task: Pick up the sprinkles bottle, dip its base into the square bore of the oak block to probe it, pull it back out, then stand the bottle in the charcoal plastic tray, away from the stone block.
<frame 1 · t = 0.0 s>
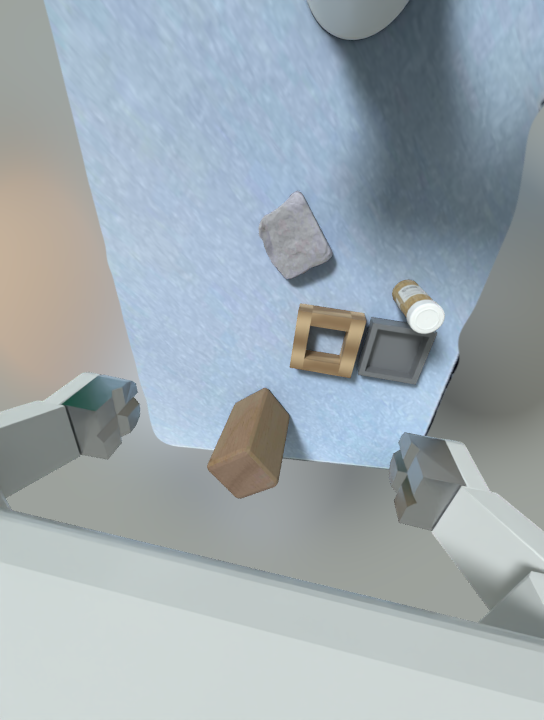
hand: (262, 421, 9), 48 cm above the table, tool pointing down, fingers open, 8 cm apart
stone block: (293, 239, 52), on the table
sprinkles bottle: (405, 291, 53), on the table
wooden block: (262, 408, 71), on the table
tray: (392, 347, 58), on the table
oak bore block: (325, 336, 59), on the table
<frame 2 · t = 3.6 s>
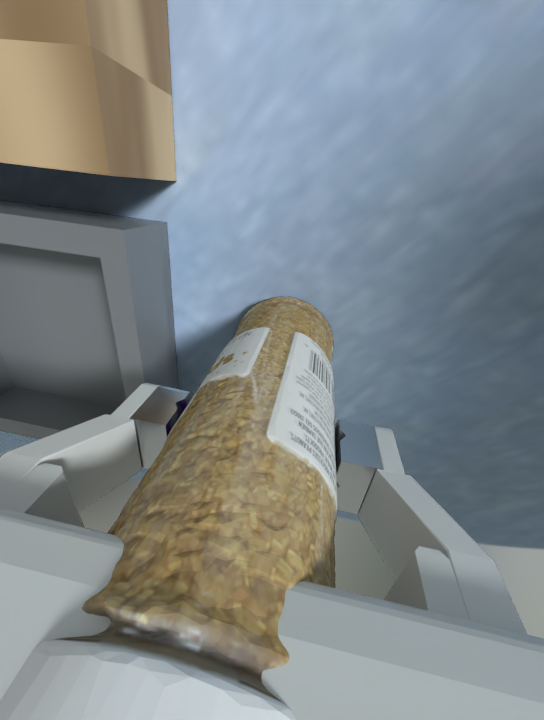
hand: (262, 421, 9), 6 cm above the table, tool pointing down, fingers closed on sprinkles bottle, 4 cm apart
sprinkles bottle: (286, 340, 14), on the table, touching gripper
tray: (74, 324, 15), on the table
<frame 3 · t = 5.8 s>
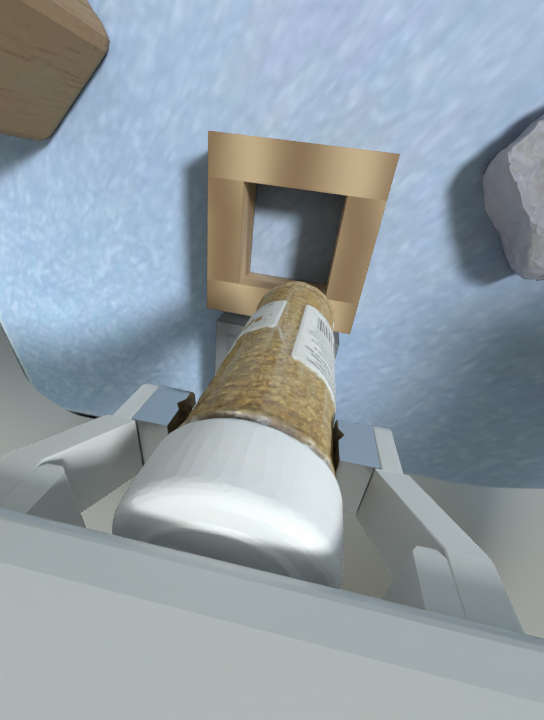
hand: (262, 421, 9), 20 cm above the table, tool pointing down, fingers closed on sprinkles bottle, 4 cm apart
sprinkles bottle: (296, 318, 17), point 10 cm above the table, touching gripper
wooden block: (32, 31, 22), on the table
tray: (274, 367, 31), on the table
oak bore block: (293, 236, 25), on the table
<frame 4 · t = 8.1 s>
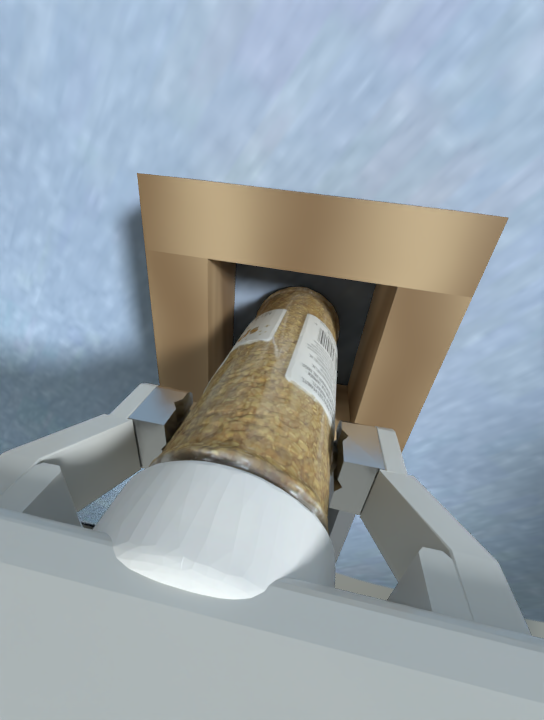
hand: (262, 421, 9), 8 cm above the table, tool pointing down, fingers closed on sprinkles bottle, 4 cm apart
sprinkles bottle: (298, 325, 16), resting in oak bore block, touching gripper
tray: (272, 479, 23), on the table
oak bore block: (296, 320, 16), on the table
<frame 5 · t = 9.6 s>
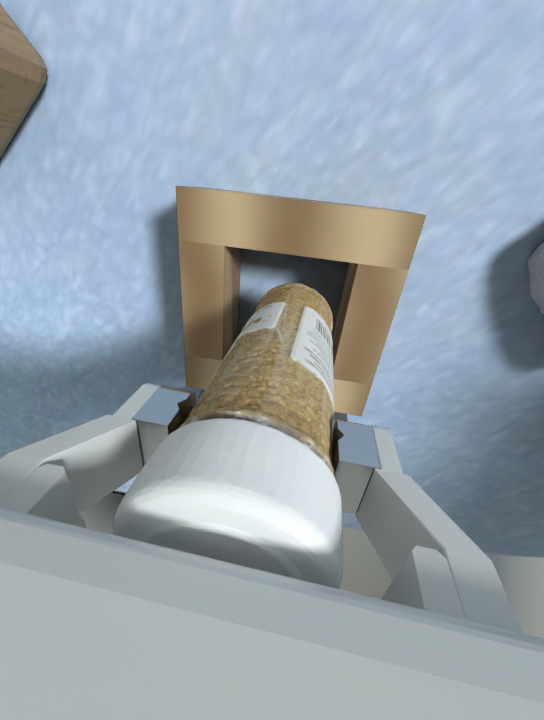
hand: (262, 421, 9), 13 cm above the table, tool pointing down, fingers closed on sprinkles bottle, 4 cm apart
sprinkles bottle: (294, 320, 17), point 4 cm above the table, touching gripper
oak bore block: (288, 297, 21), on the table
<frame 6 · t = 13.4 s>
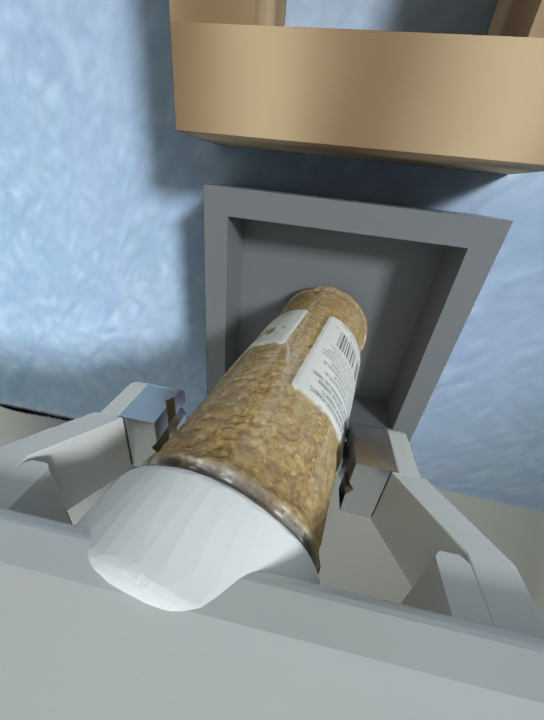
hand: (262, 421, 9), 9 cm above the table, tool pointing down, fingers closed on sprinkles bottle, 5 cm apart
sprinkles bottle: (324, 326, 16), point 1 cm above the table, touching gripper, tray
tray: (324, 314, 16), on the table
when the fingers open (9 cm above the table, at t = 13.5 s): sprinkles bottle stays where it is, resting on tray.
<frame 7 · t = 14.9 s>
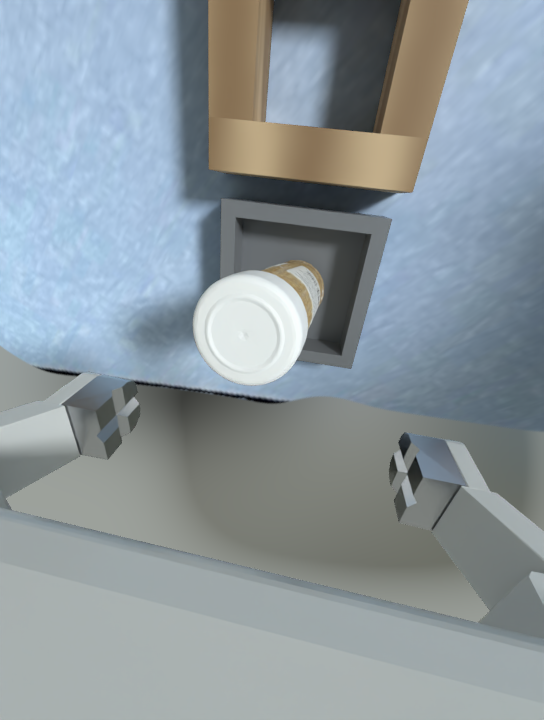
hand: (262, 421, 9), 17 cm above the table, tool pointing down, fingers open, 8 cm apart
sprinkles bottle: (296, 289, 24), point 1 cm above the table, touching tray
tray: (296, 282, 24), on the table
oak bore block: (326, 68, 18), on the table
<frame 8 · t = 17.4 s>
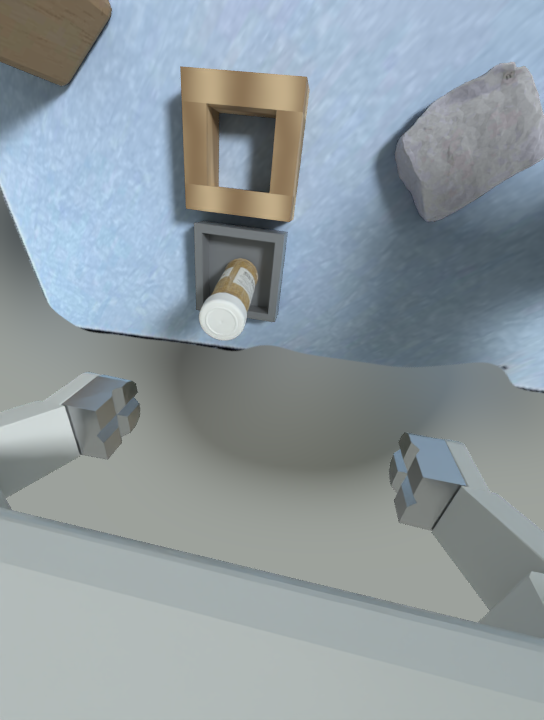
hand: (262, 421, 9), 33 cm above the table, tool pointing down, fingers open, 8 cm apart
stone block: (457, 147, 31), on the table
sprinkles bottle: (242, 274, 40), point 1 cm above the table, touching tray
wooden block: (56, 4, 31), on the table
tray: (242, 270, 40), on the table
oak bore block: (248, 154, 34), on the table
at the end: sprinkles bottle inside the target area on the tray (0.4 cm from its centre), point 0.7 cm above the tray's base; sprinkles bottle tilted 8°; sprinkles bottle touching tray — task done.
